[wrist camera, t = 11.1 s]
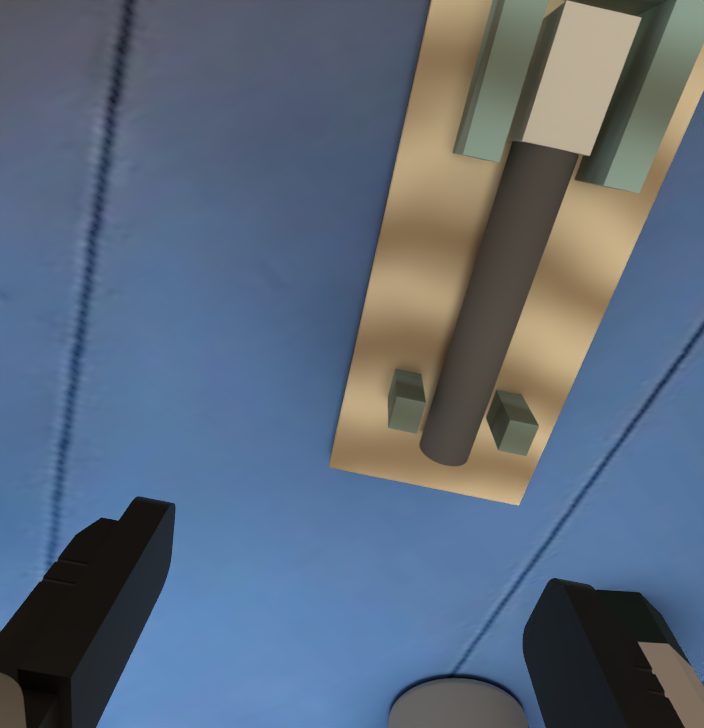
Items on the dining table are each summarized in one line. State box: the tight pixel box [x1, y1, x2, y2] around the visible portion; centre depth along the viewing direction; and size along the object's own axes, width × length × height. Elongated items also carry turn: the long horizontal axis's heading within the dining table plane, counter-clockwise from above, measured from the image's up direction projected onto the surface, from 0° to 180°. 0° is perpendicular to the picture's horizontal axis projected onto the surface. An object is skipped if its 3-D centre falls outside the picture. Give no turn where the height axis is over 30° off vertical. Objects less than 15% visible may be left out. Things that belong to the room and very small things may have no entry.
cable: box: [419, 0, 641, 466], centre depth 25 cm, size 22×3×3 cm, turn 169°
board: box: [329, 0, 704, 505], centre depth 25 cm, size 30×13×5 cm, turn 169°
